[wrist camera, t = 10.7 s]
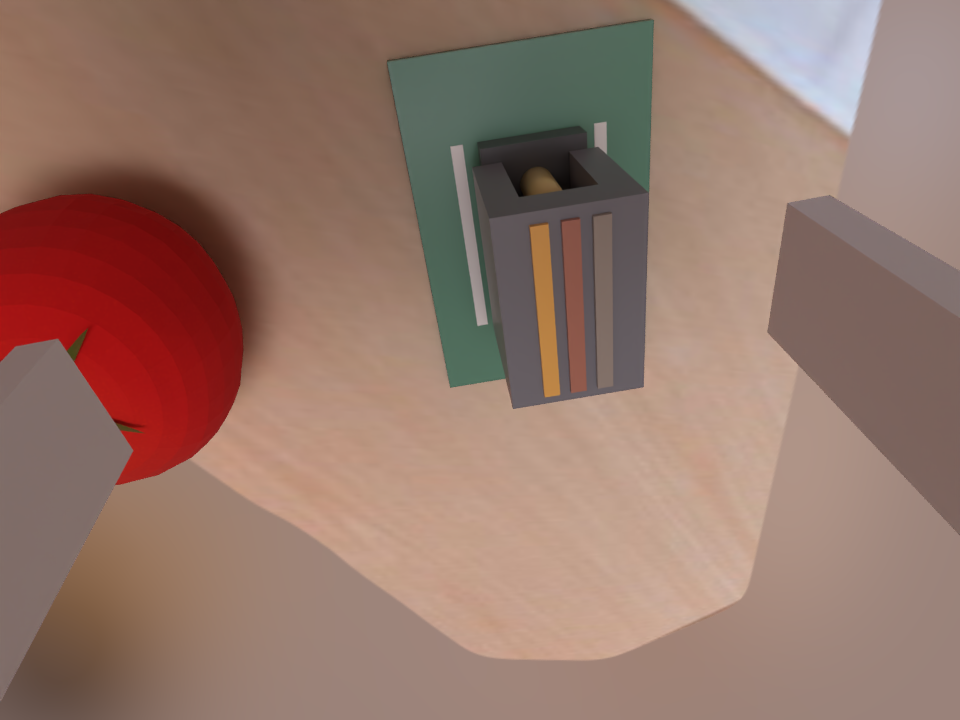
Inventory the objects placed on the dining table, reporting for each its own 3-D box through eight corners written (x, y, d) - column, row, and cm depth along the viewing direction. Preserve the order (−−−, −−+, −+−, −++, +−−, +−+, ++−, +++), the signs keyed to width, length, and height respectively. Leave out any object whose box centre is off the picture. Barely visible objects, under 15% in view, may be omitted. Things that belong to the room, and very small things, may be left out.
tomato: (248, 176, 29) (174, 271, 20) (269, 395, 36) (222, 540, 27) (-25, 155, 27) (-243, 249, 18) (54, 389, 34) (-76, 543, 25)
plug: (471, 167, 28) (489, 220, 22) (598, 146, 28) (650, 194, 22) (494, 331, 33) (513, 411, 27) (601, 313, 33) (644, 389, 27)
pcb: (387, 60, 27) (383, 78, 22) (650, 19, 27) (698, 28, 23) (449, 382, 37) (455, 440, 32) (641, 351, 37) (674, 403, 32)
